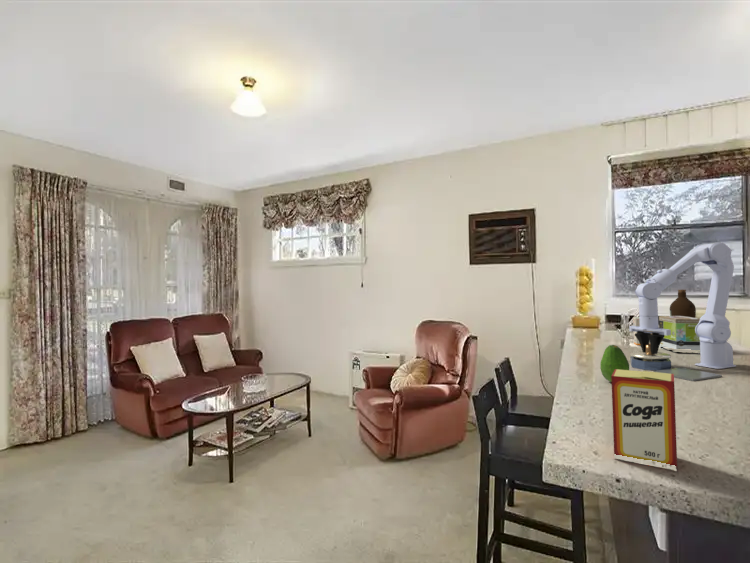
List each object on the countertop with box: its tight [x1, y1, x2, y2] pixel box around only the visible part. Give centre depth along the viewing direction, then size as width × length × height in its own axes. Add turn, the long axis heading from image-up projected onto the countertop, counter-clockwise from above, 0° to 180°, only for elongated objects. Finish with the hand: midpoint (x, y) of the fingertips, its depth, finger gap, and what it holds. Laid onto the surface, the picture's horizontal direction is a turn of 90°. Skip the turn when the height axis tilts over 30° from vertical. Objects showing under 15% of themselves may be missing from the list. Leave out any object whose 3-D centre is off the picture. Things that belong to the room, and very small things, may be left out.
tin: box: [630, 355, 672, 371], centre depth 149 cm, size 12×12×3 cm
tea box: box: [658, 315, 701, 350], centre depth 177 cm, size 15×10×15 cm, turn 168°
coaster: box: [652, 366, 723, 382], centre depth 136 cm, size 13×13×1 cm
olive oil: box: [669, 289, 697, 318], centre depth 207 cm, size 11×11×25 cm
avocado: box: [600, 344, 630, 383], centre depth 130 cm, size 8×8×12 cm
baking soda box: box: [611, 369, 678, 467], centre depth 76 cm, size 10×6×16 cm
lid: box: [629, 344, 672, 360], centre depth 149 cm, size 12×12×4 cm
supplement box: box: [632, 316, 653, 346], centre depth 195 cm, size 8×5×13 cm, turn 71°
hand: (650, 353), depth 149 cm, fingers closed on lid, 3 cm apart
